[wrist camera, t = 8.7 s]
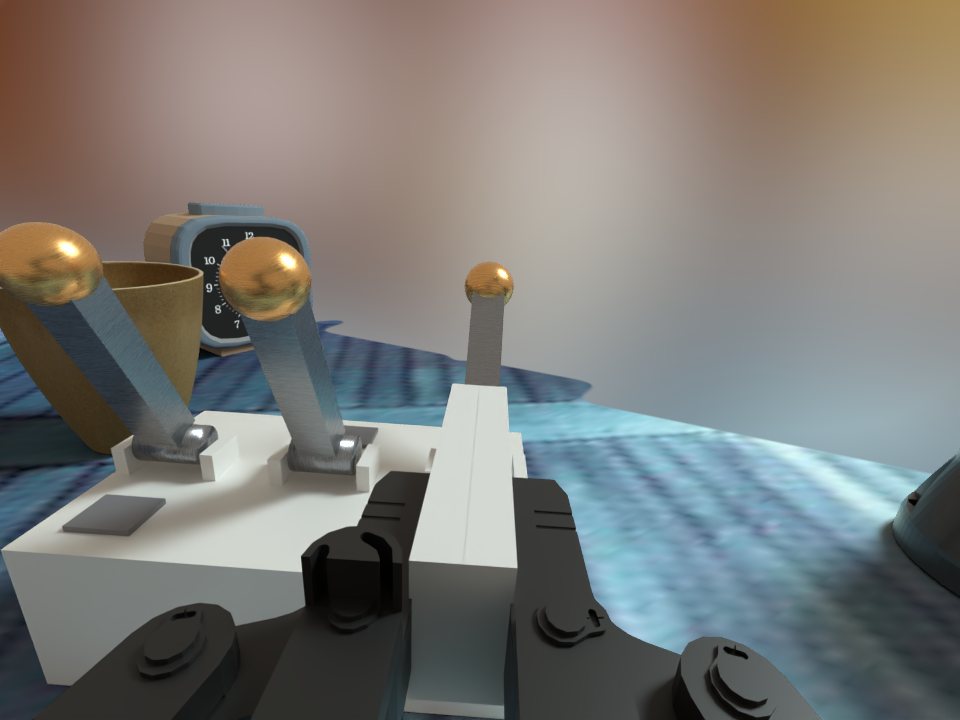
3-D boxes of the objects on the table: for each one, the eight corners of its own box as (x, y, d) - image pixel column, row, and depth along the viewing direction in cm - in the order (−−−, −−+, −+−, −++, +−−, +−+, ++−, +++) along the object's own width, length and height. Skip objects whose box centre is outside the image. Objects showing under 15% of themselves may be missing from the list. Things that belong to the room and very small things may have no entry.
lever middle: (365, 443, 27) (315, 224, 17) (351, 491, 24) (284, 269, 15) (310, 439, 27) (228, 218, 17) (290, 487, 25) (183, 262, 15)
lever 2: (504, 489, 26) (513, 280, 31) (508, 483, 23) (518, 253, 28) (446, 485, 26) (465, 277, 31) (442, 478, 23) (464, 250, 28)
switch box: (511, 524, 34) (523, 412, 31) (522, 720, 21) (543, 559, 18) (212, 503, 35) (194, 389, 32) (36, 683, 21) (-23, 517, 18)
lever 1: (226, 433, 27) (97, 210, 17) (199, 480, 25) (32, 252, 15) (171, 429, 27) (11, 204, 17) (139, 475, 25) (-68, 245, 15)
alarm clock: (192, 365, 62) (168, 202, 55) (161, 351, 67) (134, 199, 60) (316, 337, 79) (309, 209, 72) (284, 327, 84) (274, 206, 77)
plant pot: (25, 431, 43) (-24, 264, 38) (199, 394, 53) (178, 259, 48) (36, 503, 33) (-28, 293, 28) (245, 441, 44) (226, 279, 39)
